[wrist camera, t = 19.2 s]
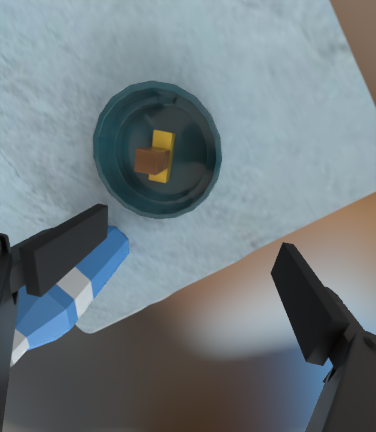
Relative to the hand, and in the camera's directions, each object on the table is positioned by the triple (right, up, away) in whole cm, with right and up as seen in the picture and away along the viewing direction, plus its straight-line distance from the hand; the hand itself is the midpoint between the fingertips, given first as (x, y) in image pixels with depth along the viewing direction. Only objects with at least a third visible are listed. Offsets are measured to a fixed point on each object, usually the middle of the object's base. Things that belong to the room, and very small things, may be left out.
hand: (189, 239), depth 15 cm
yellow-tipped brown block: (-4, +12, +21) cm, 24 cm away
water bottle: (-17, -4, +30) cm, 35 cm away
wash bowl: (-4, +13, +21) cm, 25 cm away
